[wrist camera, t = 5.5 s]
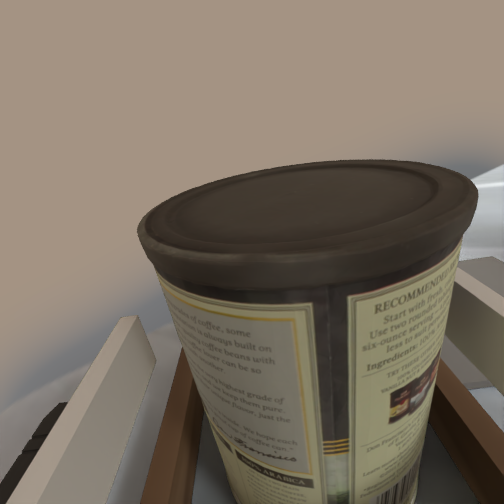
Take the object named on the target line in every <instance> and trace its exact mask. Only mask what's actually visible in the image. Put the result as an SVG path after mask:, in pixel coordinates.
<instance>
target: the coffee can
mask: <svg viewBox="0 0 504 504" xmlns="http://www.w3.org/2000/svg"><path fill="white" fill-rule="evenodd" d="M477 201H478V190H477V188H476V186H475V185H474V183H473V182H472V181H471V180H470V179H468V178H467V177H466V176H464V175H462V174H460V173H458V172H455V171H453V170H450V169H446V168H443V167H440V166H434V165H430V164H425V163H420V162H411V161H397V160H338V161H324V162H312V163H304V164H296V165H289V166H282V167H276V168H271V169H264V170H259V171H254V172H250V173H246V174H240V175H236V176H232V177H228V178H225V179H221V180H217V181H214V182H211V183H207V184H204V185H202V186H199V187H195V188H192V189H190V190H187V191H185V192H182V193H180V194H178V195H176V196H174V197H171V198H170V199H168V200H166V201H164V202H162V203H161V204H159V205H158V206H156V207H155V208H153V209H152V210H150V211H149V212H148V213H147V214H146V215H145V216H144V217H143V218H142V220H141V221H140V223H139V225H138V228H137V233H138V237H139V239H140V242H141V245H142V247H143V249H144V251H145V253H146V255H147V257H148V259H149V260H150V261H151V262H152V263H153V265H154V268H155V270H156V273H157V276H158V279H159V282H160V285H161V287H162V290H163V292H164V296H165V298H166V301H167V304H168V307H169V310H170V312H171V316H172V318H173V321H174V324H175V327H176V330H177V333H178V336H179V338H180V341H181V344H182V346H183V349H184V352H185V355H186V358H187V361H188V363H189V366H190V369H191V372H192V375H193V378H194V380H195V383H196V386H197V389H198V392H199V395H200V397H201V400H202V403H203V406H204V409H205V412H206V414H207V417H208V420H209V423H210V426H211V429H212V431H213V434H214V437H215V440H216V443H217V446H218V449H219V451H220V454H221V457H222V460H223V463H224V465H225V471H226V475H227V479H228V482H229V485H230V488H231V491H232V493H233V496H234V498H235V500H236V502H237V504H414V502H415V499H416V494H417V489H418V478H419V477H418V472H419V466H420V461H421V456H422V451H423V445H424V440H425V434H426V429H427V424H428V418H429V413H430V408H431V402H432V397H433V392H434V386H435V381H436V376H437V370H438V364H439V359H440V354H441V349H442V343H443V338H444V333H445V328H446V323H447V317H448V312H449V306H450V301H451V296H452V290H453V285H454V279H455V274H456V269H457V264H458V259H459V254H460V249H461V243H462V237H463V234H464V232H465V231H466V230H467V229H468V227H469V226H470V224H471V222H472V219H473V216H474V213H475V210H476V207H477Z"/></svg>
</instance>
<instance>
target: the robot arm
mask: <svg viewBox="0 0 504 504" xmlns="http://www.w3.org/2000/svg"><path fill="white" fill-rule="evenodd" d="M444 334H445V336H446V337H447V338H448V339H449V340H450V341H451V342H452V343H453V344H454V345H455V346H456V347H457V348H458V349H459V350H460V351H461V352H462V353H463V354H464V355H465V356H466V357H467V358H468V359H469V360H470V361H471V363H472V364H473V365H474V366H475V367H476V368H477V369H478V370H479V371H480V372H481V373H482V374H483V375H484V376H485V377H486V378H487V379H488V380H489V381H490V382H491V383H492V384H493V385H494V386H495V387H496V388H497V389H498V391H499V392H500V393H501V394H502V395H503V396H504V297H502V296H501V295H499V294H498V293H496V292H495V291H493V290H492V289H490V288H489V287H487V286H486V285H484V284H483V283H481V282H480V281H478V280H477V279H475V278H474V277H472V276H471V275H469V274H468V273H466V272H465V271H463V270H462V269H460V268H459V267H458V268H457V269H456V274H455V279H454V285H453V290H452V296H451V301H450V306H449V312H448V317H447V323H446V328H445V333H444ZM155 363H156V358H155V356H154V353H153V351H152V349H151V346H150V344H149V341H148V339H147V336H146V334H145V331H144V329H143V327H142V324H141V322H140V319H139V317H138V315H135V316H127V317H121V318H120V319H119V321H118V323H117V324H116V326H115V327H114V329H113V331H112V333H111V334H110V336H109V337H108V339H107V340H106V342H105V344H104V346H103V347H102V349H101V350H100V352H99V353H98V355H97V357H96V358H95V360H94V362H93V363H92V365H91V366H90V368H89V370H88V371H87V373H86V375H85V376H84V378H83V379H82V381H81V383H80V384H79V386H78V388H77V389H76V391H75V392H74V394H73V396H72V397H71V399H70V401H69V402H64V403H59V404H58V405H57V406H56V407H55V408H54V409H53V410H52V411H51V412H50V413H49V414H48V415H47V416H46V417H45V418H44V419H43V420H42V422H41V423H40V425H39V426H38V428H37V429H36V431H35V432H34V434H33V435H32V439H31V440H29V441H28V443H27V444H26V446H25V447H24V449H23V450H22V454H21V455H19V456H18V458H17V459H16V461H15V462H14V464H13V465H12V467H11V468H10V470H9V471H8V473H7V474H6V476H5V477H4V479H3V480H2V482H1V483H0V504H106V502H107V499H108V496H109V493H110V490H111V488H112V485H113V482H114V479H115V476H116V473H117V471H118V468H119V465H120V462H121V459H122V457H123V454H124V451H125V448H126V445H127V442H128V440H129V437H130V434H131V431H132V428H133V425H134V423H135V420H136V417H137V414H138V411H139V408H140V406H141V403H142V400H143V397H144V394H145V391H146V389H147V386H148V383H149V380H150V377H151V374H152V372H153V369H154V366H155Z"/></svg>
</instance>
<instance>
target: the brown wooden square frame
mask: <svg viewBox="0 0 504 504" xmlns="http://www.w3.org/2000/svg"><path fill="white" fill-rule="evenodd" d="M203 413H204V406H203V403H202V400H201V397H200V395H199V392H198V389H197V386H196V383H195V380H194V378H193V375H192V372H191V369H190V366H189V363H188V361H187V358H186V355H185V352H184V349H183V346H182V350H181V354H180V358H179V361H178V365H177V369H176V372H175V376H174V380H173V383H172V387H171V391H170V395H169V398H168V402H167V406H166V409H165V413H164V417H163V421H162V424H161V428H160V432H159V435H158V439H157V443H156V447H155V450H154V454H153V458H152V461H151V465H150V469H149V473H148V476H147V480H146V484H145V487H144V491H143V495H142V499H141V502H140V504H191V501H192V494H193V486H194V479H195V472H196V464H197V457H198V450H199V442H200V435H201V427H202V420H203ZM428 421H429V423H430V424H431V426H432V427H433V429H434V431H435V432H436V434H437V435H438V437H439V439H440V440H441V442H442V443H443V445H444V447H445V448H446V450H447V451H448V453H449V455H450V456H451V458H452V460H453V461H454V463H455V464H456V466H457V468H458V469H459V471H460V472H461V474H462V476H463V477H464V479H465V480H466V482H467V484H468V485H469V487H470V488H471V490H472V492H473V493H474V495H475V497H476V498H477V500H478V501H479V503H480V504H504V433H503V431H502V430H501V429H500V428H499V427H498V425H497V424H496V423H495V422H494V421H493V419H492V418H491V417H490V416H489V415H488V414H487V412H486V411H485V410H484V409H483V408H482V406H481V405H480V404H479V403H478V402H477V400H476V399H475V398H474V397H473V396H472V394H471V393H470V392H469V391H468V390H467V389H466V387H465V386H464V385H463V384H462V383H461V381H460V380H459V379H458V378H457V377H456V375H455V374H454V373H453V372H452V371H451V369H450V368H449V367H448V366H447V365H446V364H445V362H444V361H443V360H442V359H441V358H440V359H439V364H438V370H437V376H436V381H435V386H434V392H433V397H432V402H431V408H430V413H429V418H428Z"/></svg>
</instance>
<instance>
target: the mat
mask: <svg viewBox="0 0 504 504" xmlns="http://www.w3.org/2000/svg"><path fill="white" fill-rule="evenodd" d="M458 267H459V268H460V269H462V270H463V271H465V272H466V273H468V274H469V275H471V276H472V277H474V278H475V279H477V280H478V281H480V282H481V283H483V284H484V285H486V286H487V287H489V288H490V289H492V290H493V291H495V292H496V293H498V294H499V295H501V296H502V297H504V262H502V261H500V260H498V259H496V258H494V257H485V258H478V259H471V260H464V261H458V264H457V268H458ZM440 358H441V359H442V360H443V361H444V362H445V364H446V365H447V366H448V367H449V368H450V369H451V371H452V372H453V373H454V374H455V375H456V377H457V378H458V379H459V380H460V381H461V383H462V384H463V385H464V386H465V387H466V389H467V390H468V389H476V388H484V387H492V386H494V385H493V384H492V383H491V382H490V381H489V380H488V379H487V378H486V377H485V376H484V375H483V374H482V373H481V372H480V371H479V370H478V369H477V368H476V367H475V366H474V365H473V364H472V363H471V361H470V360H469V359H468V358H467V357H466V356H465V355H464V354H463V353H462V352H461V351H460V350H459V349H458V348H457V347H456V346H455V345H454V344H453V343H452V342H451V341H450V340H449V339H448V338H447V337H446V336H445V334H444V338H443V343H442V349H441V354H440Z"/></svg>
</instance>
